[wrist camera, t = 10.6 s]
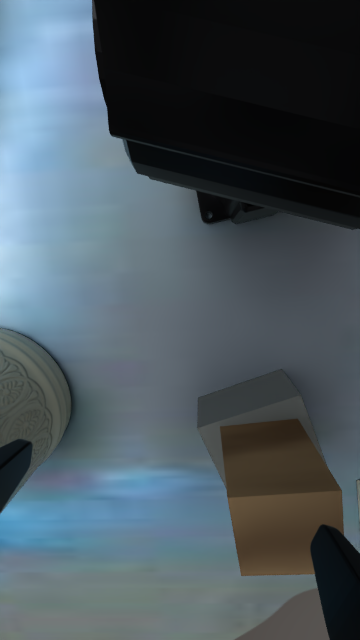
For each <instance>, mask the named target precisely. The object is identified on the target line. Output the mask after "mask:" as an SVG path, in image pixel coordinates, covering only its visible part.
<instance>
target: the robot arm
mask: <svg viewBox="0 0 360 640" xmlns="http://www.w3.org/2000/svg"><path fill="white" fill-rule="evenodd" d="M92 17H93V31H94V44H95V54H96V60H97V67H98V74H99V79H100V84H101V88H102V92H103V96H104V100H105V103H106V105H107V111H108V124H109V131H110V134H111V136H113V137H117V138H121V139H122V140H123V143H124V147H125V151H126V153H127V155H128V157H129V159H130V161H131V163H132V165H133V167H134V169H135V170H136V172H137V173H138V174H141V175H145V176H148V177H149V178H150V179H152V180H156V181H160V182H164V183H168V184H172V185H176V186H180V187H184V188H188V189H192V190H196V192H197V197H198V203H199V208H200V213H201V218H202V221H203V222H204V223H206V224H212V223H216V222H220V221H224V220H228V219H232V222H233V223H235V224H238V223H242V222H247V221H251V220H255V219H259V218H263V217H267V216H271V215H274V214H275V213H277V212H278V211H280V212H284V213H288V214H292V215H296V216H300V217H304V218H308V219H312V220H316V221H320V222H324V223H328V224H332V225H336V226H340V227H344V228H348V229H352V230H353V229H360V0H92ZM208 212H210V213H212V218H211V219H207V218H206V217H205V214H206V213H208ZM32 448H33V444H32V442H31V441H28V440H24V439H16V440H14V441H12V442H10V443H8V444H6V445H4V446H2V447H0V512H1V511H2V509H3V508H4V506H5V505H6V503H7V502H8V500H9V499H10V497H11V495H12V494H13V492H14V491H15V489H16V488H17V486H18V485H19V483H20V482H21V480H22V479H23V477H24V476H25V474H26V472H27V471H28V469H29V467H30V464H31V457H32ZM310 552H311V558H312V562H313V567H314V572H315V577H316V581H317V586H318V590H319V595H320V600H321V605H322V610H323V614H324V618H325V623H326V627H327V631H328V635H329V638H330V640H360V553H359V552H358V551H357V550H356V549H355V548H354V547H353V545H352V544H351V543H350V542H349V541H348V540H347V539H346V538H345V537H344V535H343V534H342V533H341V532H340V531H339V530H338V529H337V528H335V527H332V526H328V525H325V524H322V525H320V526H319V528H318V530H317V532H316V534H315V535H314V537H313V539H312V541H311V544H310Z"/></svg>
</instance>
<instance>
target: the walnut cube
mask: <svg viewBox="0 0 360 640" xmlns="http://www.w3.org/2000/svg"><path fill="white" fill-rule="evenodd" d="M220 433H221V442H222V451H223V461H224V470H225V479H226V488H227V497H228V503H229V509H230V514H231V520H232V526H233V532H234V537H235V543H236V549H237V554H238V560H239V566H240V571H241V576H256V575H300V574H315V572H314V567H313V562H312V558H311V552H310V544H311V541H312V539H313V537H314V535H315V534H316V532H317V530H318V528H319V526H320V525H322V524H325V525H328V526H332V527H335V528H337V529H338V530H339V531H340V532H341V533H342V534H343V535H344V529H343V507H342V490H341V488H340V487H339V485H338V484H337V482H336V480H335V479H334V477H333V475H332V474H331V472H330V470H329V469H328V467H327V466H326V464H325V462H324V461H323V459H322V457H321V456H320V454H319V452H318V451H317V449H316V448H315V446H314V444H313V443H312V441H311V439H310V438H309V436H308V434H307V433H306V431H305V430H304V428H303V426H302V425H301V423H300V421H299V420H298V419H289V420H279V421H269V422H259V423H250V424H240V425H230V426H220Z"/></svg>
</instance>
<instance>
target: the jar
mask: <svg viewBox="0 0 360 640" xmlns="http://www.w3.org/2000/svg"><path fill="white" fill-rule="evenodd" d="M70 415H71V396H70V391H69V388H68V384H67V382H66V379H65V377H64V375H63V373H62V371H61V370H60V368H59V366H58V365H57V364H56V362H55V361H54V360H53V359H52V357H51V356H50V355H49V354H48V353H47V352H46V351H45V350H44V349H43V348H41V347H40V346H39V345H38V344H36V343H35V342H33V341H32V340H30V339H29V338H27V337H25V336H23V335H21V334H19V333H16V332H14V331H11V330H7V329H3V328H0V447H2V446H4V445H6V444H8V443H10V442H12V441H14V440H16V439H24V440H28V441H31V442H32V444H33V448H32V457H31V464H30V467H29V469H28V471H27V472H26V474H25V476H24V477H23V479H22V480H21V482H20V483H19V485H18V486H17V488H16V489H15V491H14V492H13V494H12V495H11V497H10V499H9V500H8V502H7V503H6V505H5V506H4V508H3V509H2V511H3V510H4V509H5V507H6V506H7V505H8V504H9V502H10V501H11V500H12V499H13V497H14V496H15V495H16V494H17V492H18V491H19V490H20V489H21V487H22V486H23V485H24V484H25V482H26V481H27V480H28V479H29V477H30V476H31V475H32V474H33V472H34V471H35V470H36V469H37V467H39V466H40V465H41V464H42V463H43V462H44V461H46V460H47V458H48V457H49V456H50V455H51V453H52V452H53V451H54V449H55V448H56V447H57V445H58V444H59V442H60V440H61V438H62V436H63V433H64V431H65V429H66V428H67V425H68V423H69V419H70ZM2 511H1V512H0V514H1V513H2Z"/></svg>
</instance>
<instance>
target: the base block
mask: <svg viewBox="0 0 360 640" xmlns="http://www.w3.org/2000/svg"><path fill="white" fill-rule="evenodd" d="M289 419H298V420H299V421H300V423H301V425H302V426H303V428H304V430H305V431H306V433H307V434H308V436H309V438H310V439H311V441H312V443H313V444H314V446H315V448H316V449H317V451H318V452H319V454H320V456H321V457H322V459H323V461H324V462H325V459H324V456H323V453H322V451H321V448H320V445H319V443H318V440H317V437H316V435H315V432H314V429H313V426H312V424H311V421H310V418H309V416H308V413H307V410H306V407H305V405H304V402H303V399H302V397H301V394H300V393H299V392H298V390H297V389H296V388H295V386H294V385H293V384H292V382H291V381H290V380H289V378H288V377H287V376H286V374H285V373H284V372H283V370H282V369H280V370H277V371H275V372H272V373H269V374H266V375H263V376H260V377H257V378H254V379H251V380H248V381H245V382H243V383H240V384H237V385H234V386H231V387H228V388H225V389H222V390H219V391H216V392H213V393H211V394H208V395H205V396H202V397H199V398H198V422H197V428H198V431H199V433H200V435H201V437H202V439H203V441H204V443H205V445H206V447H207V449H208V452H209V454H210V456H211V458H212V460H213V462H214V464H215V466H216V468H217V470H218V472H219V475H220V477H221V479H222V481H223V483H224V485H225V487H226V479H225V470H224V461H223V451H222V442H221V433H220V426H230V425H240V424H250V423H259V422H269V421H279V420H289ZM325 464H326V462H325ZM326 466H327V464H326ZM226 489H227V488H226Z"/></svg>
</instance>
